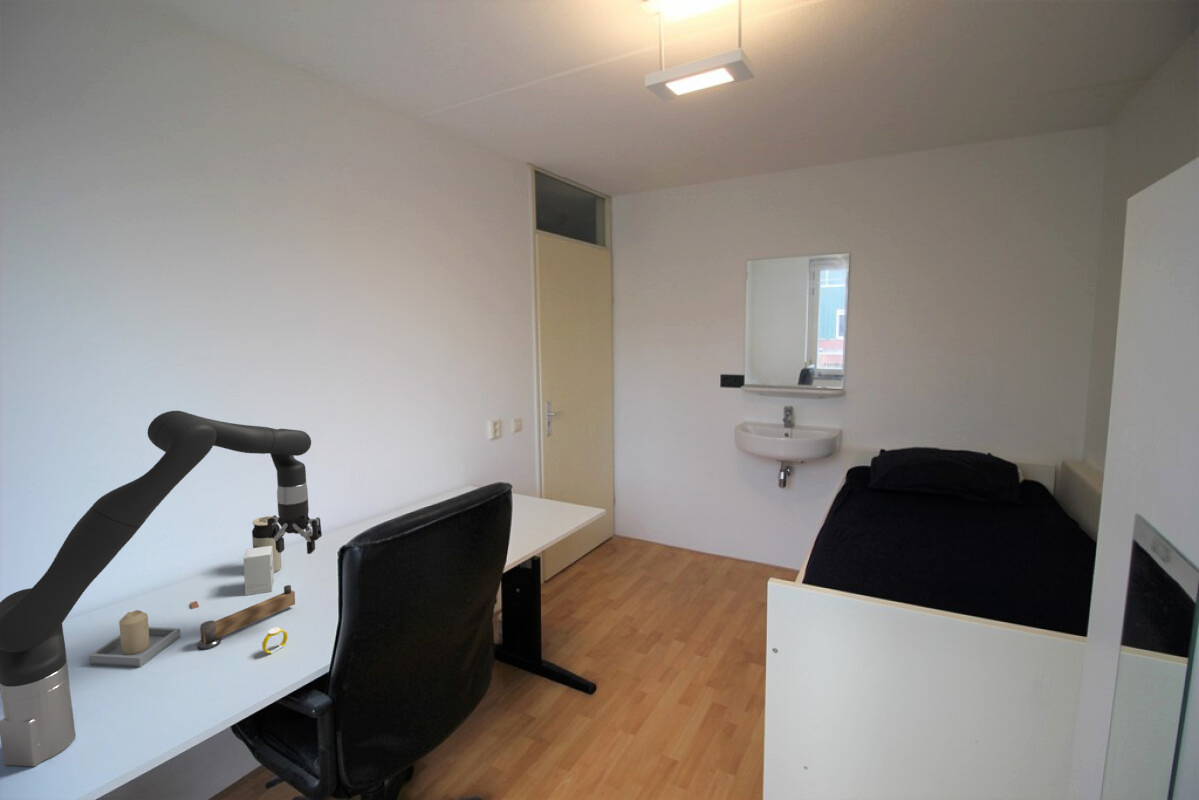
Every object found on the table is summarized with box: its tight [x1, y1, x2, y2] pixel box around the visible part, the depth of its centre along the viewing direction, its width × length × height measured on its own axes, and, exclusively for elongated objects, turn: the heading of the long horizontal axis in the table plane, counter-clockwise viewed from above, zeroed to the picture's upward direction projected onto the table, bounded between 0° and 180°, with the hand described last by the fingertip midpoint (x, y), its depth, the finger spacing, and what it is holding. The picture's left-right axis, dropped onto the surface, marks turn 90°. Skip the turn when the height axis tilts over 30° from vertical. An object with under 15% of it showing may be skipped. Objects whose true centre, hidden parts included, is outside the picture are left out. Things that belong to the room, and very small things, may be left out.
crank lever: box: [199, 584, 296, 644], centre depth 151 cm, size 24×3×6 cm, turn 149°
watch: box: [261, 626, 288, 654], centre depth 141 cm, size 6×3×6 cm, turn 152°
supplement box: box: [243, 546, 275, 596], centre depth 170 cm, size 7×7×13 cm
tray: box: [88, 626, 181, 668], centre depth 139 cm, size 13×13×2 cm
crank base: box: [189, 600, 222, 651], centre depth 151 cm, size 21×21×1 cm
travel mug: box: [251, 515, 282, 573], centre depth 182 cm, size 8×8×18 cm
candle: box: [118, 609, 150, 655], centre depth 138 cm, size 6×6×10 cm
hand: (295, 552), depth 153 cm, fingers open, 8 cm apart
